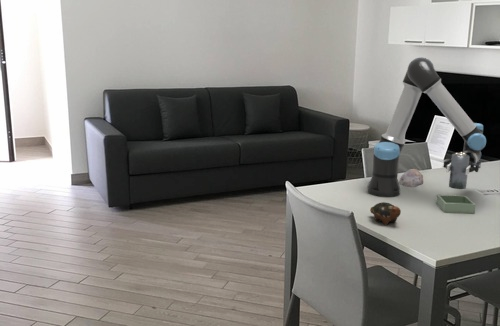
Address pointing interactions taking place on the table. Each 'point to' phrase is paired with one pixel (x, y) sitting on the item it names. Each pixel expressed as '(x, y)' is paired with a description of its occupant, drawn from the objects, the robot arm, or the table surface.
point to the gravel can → (458, 170)
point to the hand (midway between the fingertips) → (457, 170)
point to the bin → (455, 204)
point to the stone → (411, 178)
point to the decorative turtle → (385, 212)
